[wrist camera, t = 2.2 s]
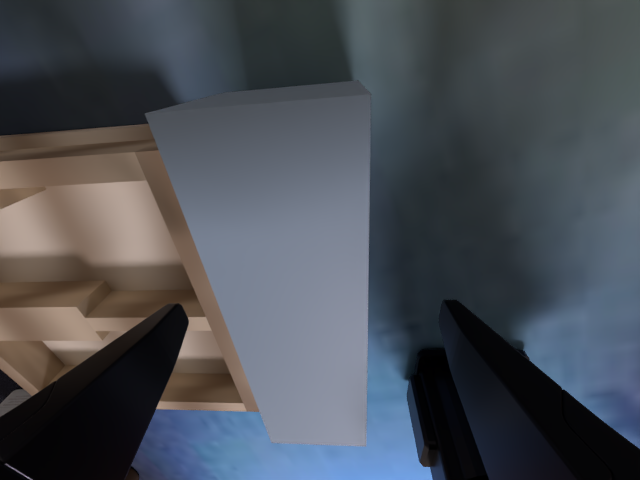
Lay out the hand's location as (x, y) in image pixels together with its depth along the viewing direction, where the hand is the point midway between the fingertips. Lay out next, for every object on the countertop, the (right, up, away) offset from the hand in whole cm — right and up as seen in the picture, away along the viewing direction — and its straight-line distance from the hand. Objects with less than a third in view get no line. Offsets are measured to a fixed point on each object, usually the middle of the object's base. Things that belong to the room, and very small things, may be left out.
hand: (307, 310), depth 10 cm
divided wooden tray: (-12, -1, +7) cm, 14 cm away
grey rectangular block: (0, +3, +4) cm, 5 cm away
